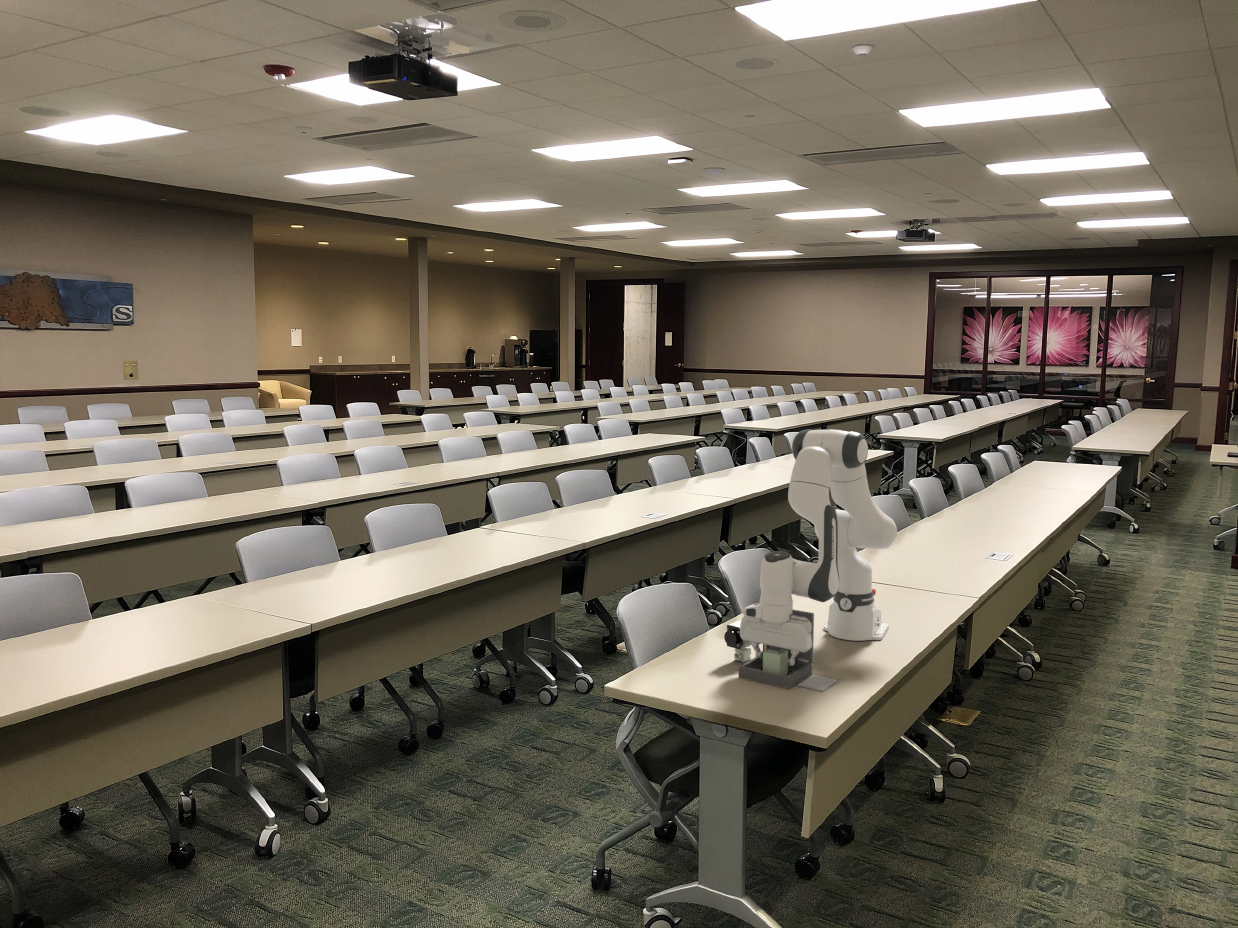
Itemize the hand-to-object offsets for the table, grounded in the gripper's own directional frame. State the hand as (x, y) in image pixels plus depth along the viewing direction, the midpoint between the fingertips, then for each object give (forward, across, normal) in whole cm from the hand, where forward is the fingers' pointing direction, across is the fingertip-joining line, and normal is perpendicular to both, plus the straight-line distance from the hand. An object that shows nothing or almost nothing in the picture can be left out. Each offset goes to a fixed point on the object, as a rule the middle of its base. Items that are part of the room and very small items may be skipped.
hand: (774, 661), depth 245 cm
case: (+4, 0, 0) cm, 4 cm away
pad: (+4, -12, -2) cm, 13 cm away
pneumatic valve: (+4, +13, -6) cm, 15 cm away
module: (+4, 0, 0) cm, 4 cm away
